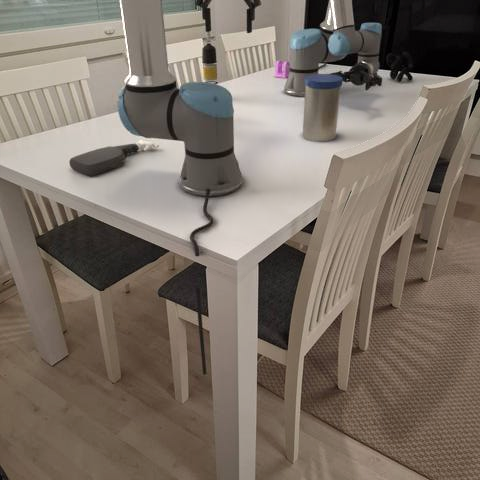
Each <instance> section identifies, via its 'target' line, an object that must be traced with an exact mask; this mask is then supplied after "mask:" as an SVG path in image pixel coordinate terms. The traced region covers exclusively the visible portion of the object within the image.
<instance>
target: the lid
mask: <svg viewBox="0 0 480 480" xmlns="http://www.w3.org/2000/svg"><path fill="white" fill-rule="evenodd" d="M343 83H344V82H343V78H342V77H341V76H338V75H332V74H330V73H318V74H312V75H308V76H306V77H305V80H304V84H305V85H306V86H308V87H312V88H319V89H330V88H337V87H340V86H341V87H342V85H343Z"/></svg>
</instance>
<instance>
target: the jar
mask: <svg viewBox="0 0 480 480" xmlns="http://www.w3.org/2000/svg"><path fill="white" fill-rule="evenodd" d="M341 87H342V86H340V87H337V88H330V89H319V88H312V87H308V86H306V85H305V97H304V101H303V102H304V103H303V120H302V123H303V124H302V137H303V138H304V139H306V140H307V141H312V142H329V141H332V140H335V139H336V136H337V128H338V117H339V106H340V98H341V97H340V96H341V89H342V88H341Z"/></svg>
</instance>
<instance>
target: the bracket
mask: <svg viewBox="0 0 480 480" xmlns="http://www.w3.org/2000/svg"><path fill="white" fill-rule="evenodd" d="M274 66H275V67H274V69H275V70H274V77H276V78H284V79H287V78H288V75H289V69H290V60H289V61H288V60H285V61H284V62H283V60H280V59H279V60H276V61H275V65H274Z"/></svg>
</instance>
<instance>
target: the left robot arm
mask: <svg viewBox="0 0 480 480" xmlns="http://www.w3.org/2000/svg"><path fill="white" fill-rule="evenodd" d="M212 1H213V0H196V1H195V6H197V7H200V8H201V12H202V13H201V16H202V17H201V18H202V20H203V21H204V24H205V33H206V32H210V33H211V32H212V15H211V7H209V5H210V4H211V3H212ZM243 1H244V2H245V4H246V5H247V6H248V8H246V34H251V33H252V32H253V21H255V19H256V8H258V7H260V6H261V5H262V2H261V0H243ZM119 3H120V9H121V17H122V24H123V32H124V37H125V45H126V51H127V58H128V67H129V74H128V76H127V77H126V78H125V80H124V86H123V87H122V89H121V90H120V92H119V94H118V100H117V113H118V116H119V119H120V121H121V124H122V126H123V127H124V128H125V130H126V131H128V132H129V133H130V134H131V135H133V136H137V137H141V138H144V139H159V140H166V141H167V140H169V141H179V142H183V143H184V154H185V155H184V158H183V164H182V168H181V171H180V177H179V178H180V179H179V183H180V184H179V185H180V188H181V189H182V191H184V192H186V193H187V194H190V195H194V196H199V197H204V202H203V207H202V211H203V214H204V216H205V217H206V218H207V219H208V220H209V222H208V223H206V224H204V225H201V226H199V227H197V228H195V229H194V230H192V231H191V232H190V234H189V240H190V242H191V243H192V245H193V248H194V256H195V257H199V256H200V249H199V248H200V247H199V244H198V242H197V240H196V239H195V235H197V233H199V232H202V231H204V230H206V229H208V228H210V227H211V226H212V225H213V224H214V221H215V220H214V217H213V216H212V215H210V213H208V203H209V198H210V197H221V196H224V195H229V194H232V193H234V192H235V191H237V190H239V189H240V188H241V187H242V185H243V174H242V171H241V168H240V163H239V160H238V158H237V157H236V154H235V132H234V131H235V129H234V127H235V126H234V122H235V121H234V114H235V109H234V104H233V96H232V93H231V91H230V90H228V89H227V88H226V87H224V86H222V85H219V84H218V83H217V84H215V83H214V82H207V81H199V82H198V81H189V82H185V83H183V84H181V85H180V87H179V88H177V87H178V86H177V77H176V76H175V75H174V74H173V73H171V71H170V70H169V60H168V52H167V51H168V50H167V40H166V30H165V21H164V18H165V17H164V10H163V9H164V7H163V0H119ZM195 293H196V296H195V297H196V311H197V322H198V334H199V344H200V345H199V346H200V355H201V366H202V375H204V376H205V375H207V363H206V352H205V351H206V350H205V339H204V330H203V329H204V328H203V327H204V326H203V315H202V302H201V301H202V300H201V299H202V298H201V288H200V287H198V286H195Z"/></svg>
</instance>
